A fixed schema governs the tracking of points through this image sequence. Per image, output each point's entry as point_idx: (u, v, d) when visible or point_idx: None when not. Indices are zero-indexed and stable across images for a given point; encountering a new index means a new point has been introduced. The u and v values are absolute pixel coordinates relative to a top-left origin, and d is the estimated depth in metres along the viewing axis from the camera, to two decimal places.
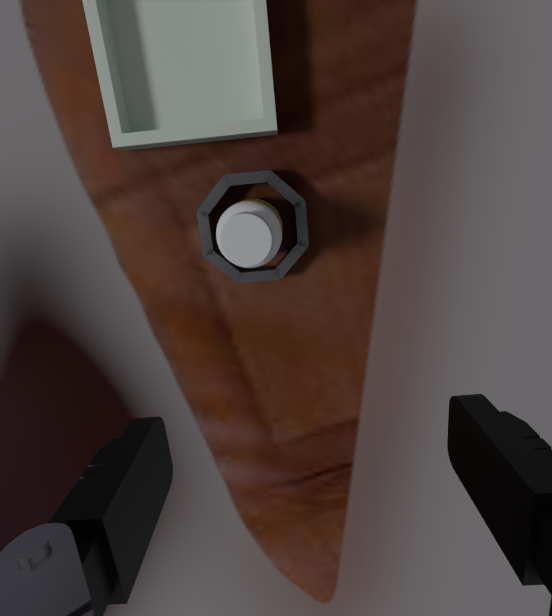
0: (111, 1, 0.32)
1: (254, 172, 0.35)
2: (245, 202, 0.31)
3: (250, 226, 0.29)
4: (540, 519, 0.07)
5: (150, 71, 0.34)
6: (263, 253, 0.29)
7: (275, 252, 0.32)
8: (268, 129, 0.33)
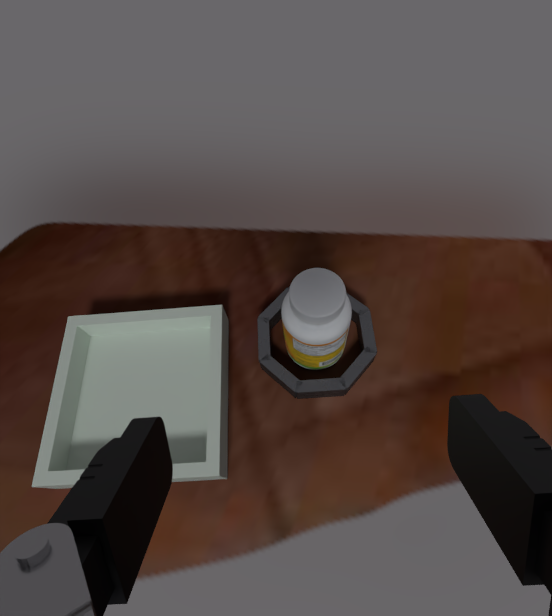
0: (87, 466, 0.32)
1: (259, 331, 0.35)
2: (282, 310, 0.30)
3: (302, 286, 0.27)
4: (540, 519, 0.07)
5: None
6: (330, 275, 0.28)
7: None
8: (220, 311, 0.34)
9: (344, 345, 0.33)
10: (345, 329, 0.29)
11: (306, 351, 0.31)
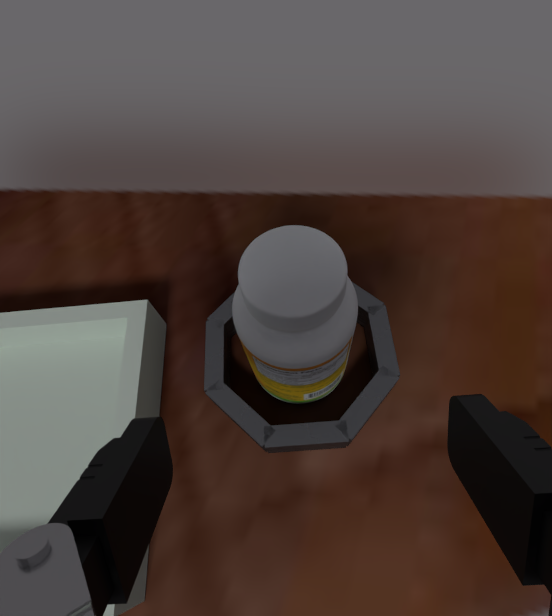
0: None
1: (207, 342, 0.21)
2: (232, 306, 0.17)
3: (263, 259, 0.14)
4: (540, 519, 0.07)
5: (26, 519, 0.19)
6: (317, 237, 0.15)
7: None
8: (144, 311, 0.21)
9: (345, 364, 0.20)
10: (347, 339, 0.16)
11: (278, 378, 0.17)
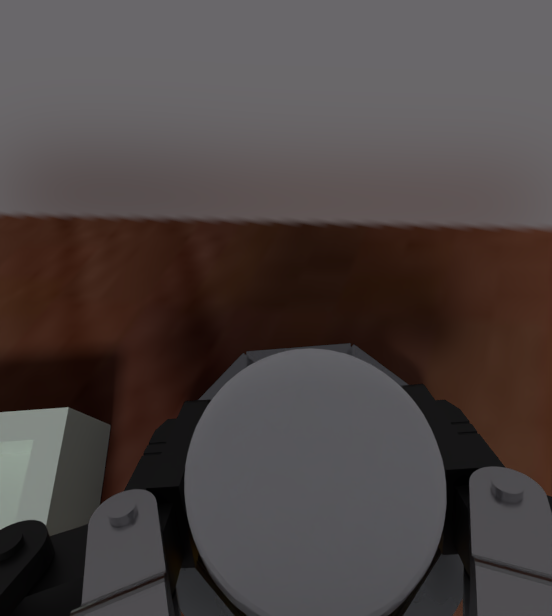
0: None
1: None
2: None
3: (245, 440, 0.06)
4: (452, 493, 0.08)
5: None
6: (369, 385, 0.06)
7: None
8: (61, 428, 0.13)
9: None
10: None
11: None
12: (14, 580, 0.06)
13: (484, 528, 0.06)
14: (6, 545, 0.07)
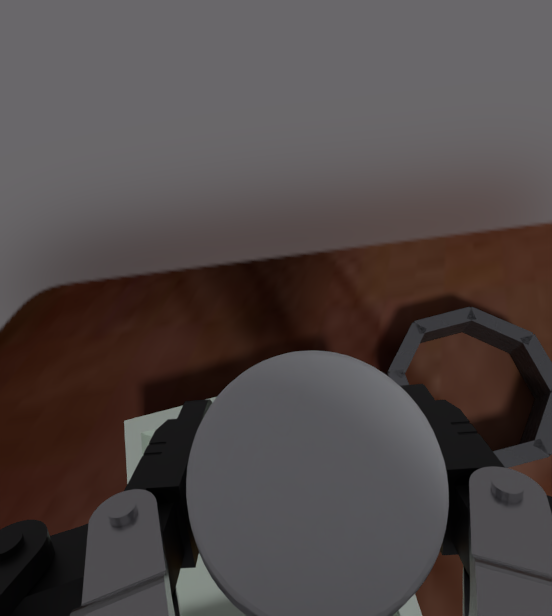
0: None
1: None
2: None
3: (247, 443, 0.06)
4: (452, 493, 0.08)
5: None
6: (371, 387, 0.06)
7: None
8: None
9: None
10: None
11: None
12: (14, 580, 0.06)
13: (484, 528, 0.06)
14: (6, 545, 0.07)
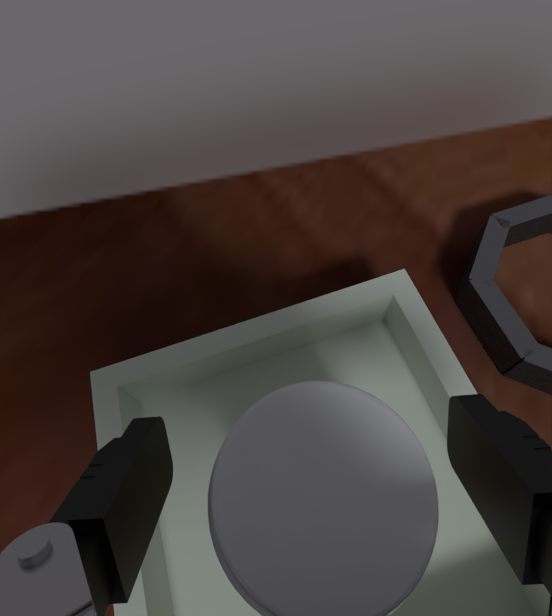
0: None
1: (487, 304, 0.17)
2: (208, 497, 0.09)
3: (264, 463, 0.07)
4: (539, 519, 0.07)
5: None
6: (372, 415, 0.07)
7: None
8: (410, 282, 0.17)
9: None
10: None
11: None
12: None
13: None
14: None
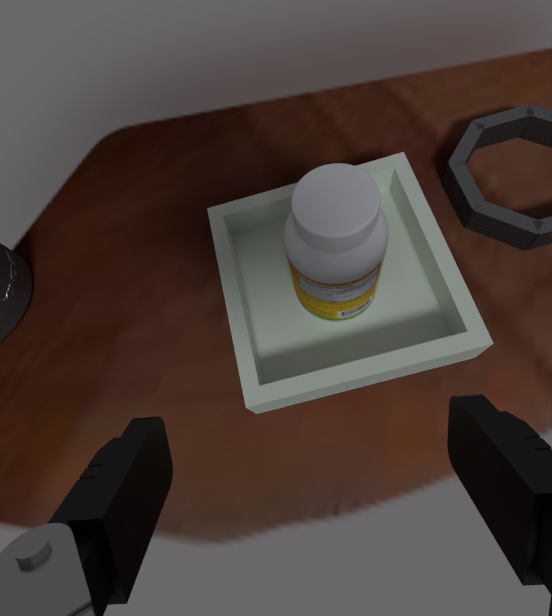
0: None
1: (457, 177, 0.27)
2: (284, 231, 0.20)
3: (312, 190, 0.18)
4: (540, 519, 0.07)
5: (363, 325, 0.25)
6: (358, 174, 0.18)
7: None
8: (405, 160, 0.26)
9: (375, 290, 0.23)
10: (376, 262, 0.19)
11: (317, 294, 0.21)
12: None
13: None
14: None
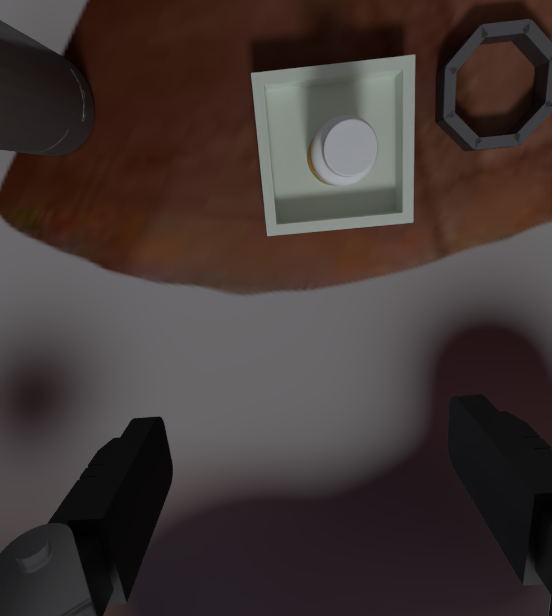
0: (294, 216, 0.40)
1: (445, 85, 0.35)
2: (313, 143, 0.31)
3: (338, 138, 0.29)
4: (540, 519, 0.07)
5: (345, 188, 0.39)
6: (369, 133, 0.28)
7: (370, 126, 0.31)
8: (413, 64, 0.33)
9: None
10: None
11: (323, 180, 0.34)
12: None
13: None
14: None
